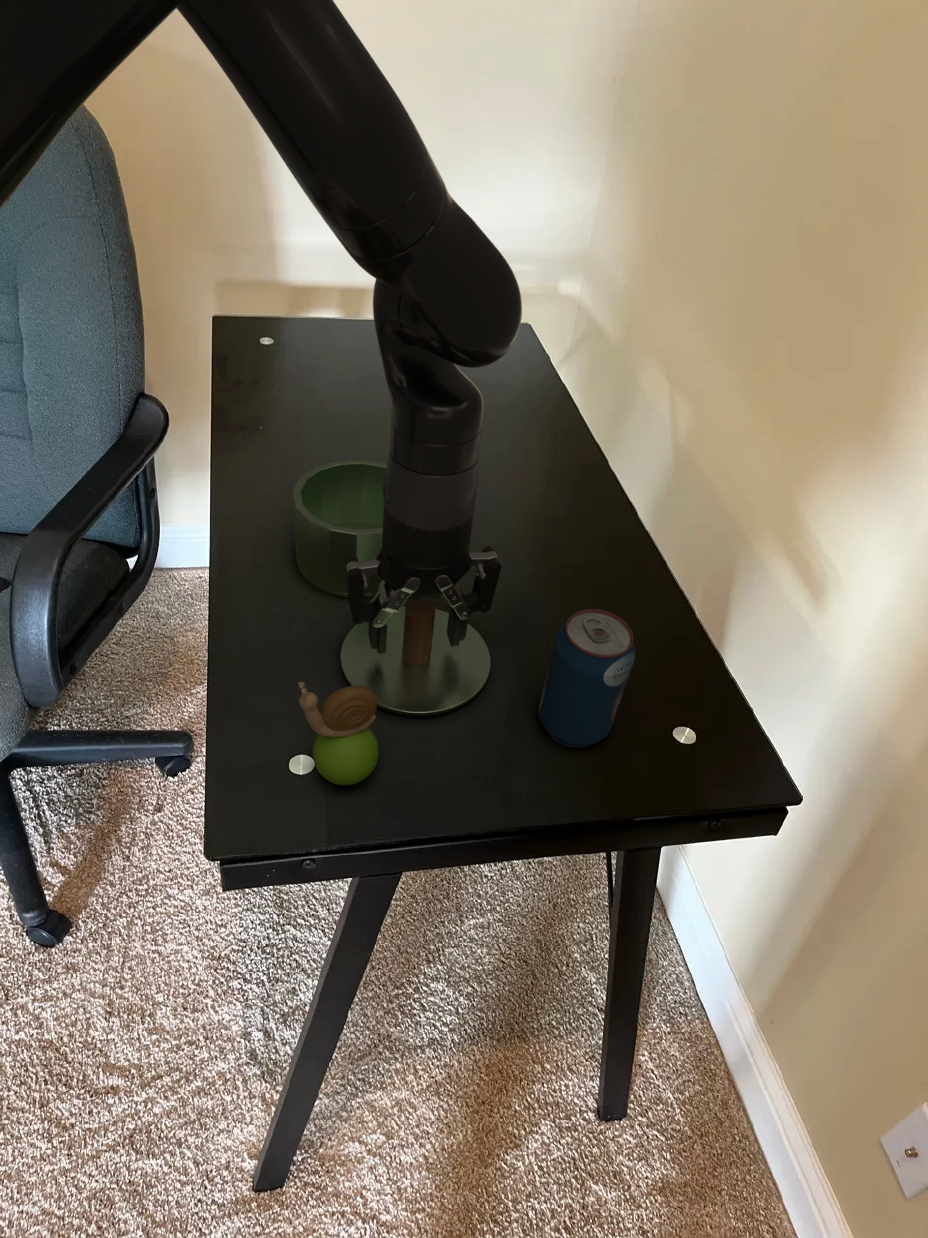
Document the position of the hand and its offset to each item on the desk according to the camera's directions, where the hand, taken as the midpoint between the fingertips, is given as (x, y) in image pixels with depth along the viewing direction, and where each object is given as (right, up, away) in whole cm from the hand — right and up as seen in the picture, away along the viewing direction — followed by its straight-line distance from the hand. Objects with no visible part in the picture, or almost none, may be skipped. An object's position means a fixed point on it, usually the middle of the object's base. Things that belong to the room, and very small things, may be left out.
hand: (416, 643), depth 79 cm
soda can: (+15, -8, -2) cm, 17 cm away
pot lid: (0, -2, +1) cm, 2 cm away
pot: (-7, +9, +13) cm, 17 cm away
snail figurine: (-6, -11, -9) cm, 15 cm away
